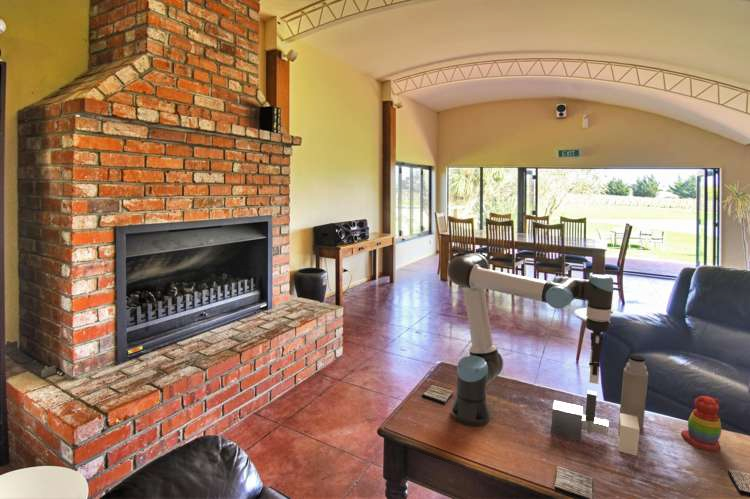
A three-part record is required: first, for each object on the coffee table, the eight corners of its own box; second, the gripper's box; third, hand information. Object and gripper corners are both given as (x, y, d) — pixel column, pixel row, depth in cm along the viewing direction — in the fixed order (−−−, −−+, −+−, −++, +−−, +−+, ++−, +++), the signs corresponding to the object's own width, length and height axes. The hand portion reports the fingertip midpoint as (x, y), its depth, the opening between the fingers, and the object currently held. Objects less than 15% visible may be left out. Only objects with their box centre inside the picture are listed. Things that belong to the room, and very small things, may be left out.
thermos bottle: (637, 420, 164) (644, 353, 160) (646, 432, 156) (653, 362, 152) (615, 418, 166) (621, 352, 161) (623, 430, 158) (629, 360, 154)
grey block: (551, 432, 156) (552, 408, 155) (552, 423, 162) (554, 400, 161) (580, 440, 152) (582, 415, 150) (581, 430, 158) (582, 406, 156)
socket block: (618, 451, 145) (620, 425, 144) (617, 437, 153) (619, 412, 152) (636, 455, 143) (639, 429, 141) (634, 441, 151) (637, 416, 149)
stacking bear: (713, 437, 153) (719, 392, 150) (726, 454, 144) (733, 406, 141) (679, 432, 156) (684, 388, 154) (689, 448, 147) (695, 401, 144)
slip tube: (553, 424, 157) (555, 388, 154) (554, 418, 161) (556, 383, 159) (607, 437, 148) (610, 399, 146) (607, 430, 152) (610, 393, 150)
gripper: (611, 331, 134) (606, 392, 137) (609, 310, 156) (604, 364, 159) (586, 327, 138) (581, 387, 141) (586, 308, 160) (582, 360, 163)
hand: (593, 375), depth 150 cm, fingers open, 13 cm apart
